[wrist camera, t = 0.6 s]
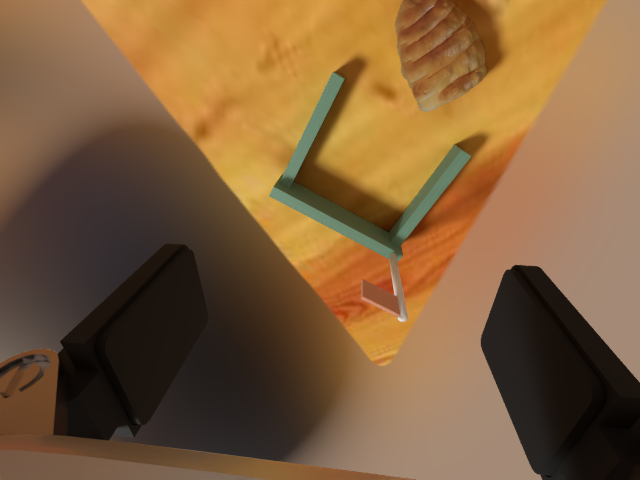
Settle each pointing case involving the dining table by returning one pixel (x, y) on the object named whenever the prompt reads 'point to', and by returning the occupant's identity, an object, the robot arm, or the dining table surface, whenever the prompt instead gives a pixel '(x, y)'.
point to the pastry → (438, 51)
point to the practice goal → (353, 224)
